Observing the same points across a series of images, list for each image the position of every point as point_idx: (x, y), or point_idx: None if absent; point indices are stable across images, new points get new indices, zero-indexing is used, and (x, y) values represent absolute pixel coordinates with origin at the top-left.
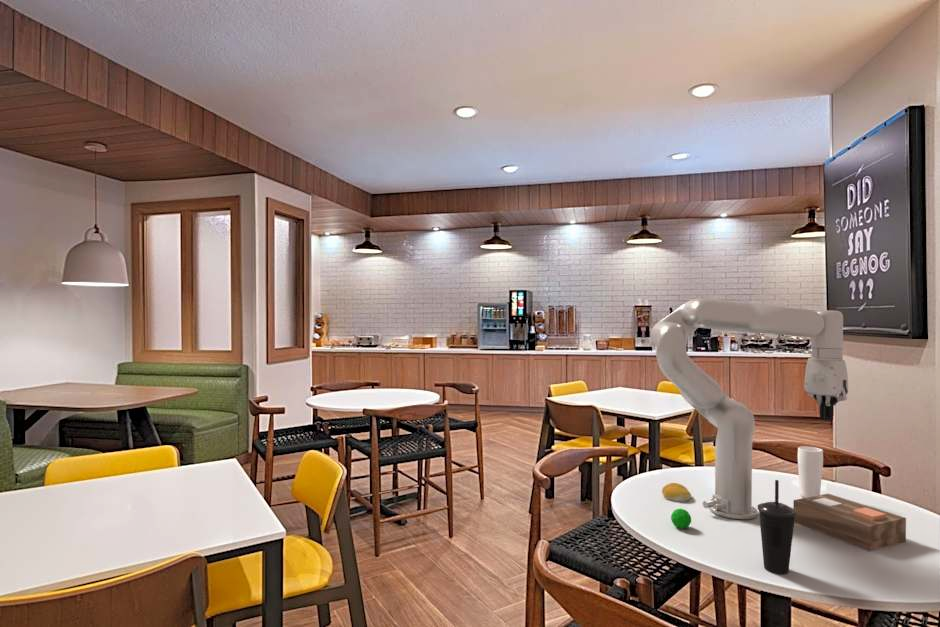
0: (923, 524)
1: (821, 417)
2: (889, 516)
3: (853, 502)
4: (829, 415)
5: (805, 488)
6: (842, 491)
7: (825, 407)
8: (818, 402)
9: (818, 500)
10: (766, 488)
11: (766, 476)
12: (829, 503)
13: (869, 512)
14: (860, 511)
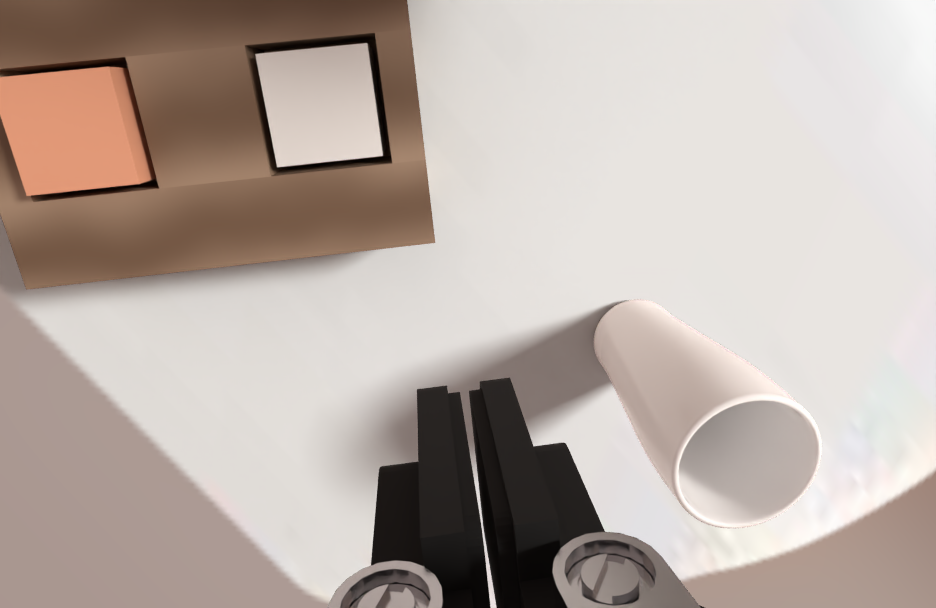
0: (241, 492)
1: (483, 390)
2: (55, 228)
3: (280, 244)
4: (382, 475)
5: (641, 314)
6: (631, 524)
7: (421, 522)
8: (634, 575)
9: (352, 79)
10: (806, 243)
11: (921, 384)
12: (293, 94)
13: (58, 126)
14: (80, 90)
